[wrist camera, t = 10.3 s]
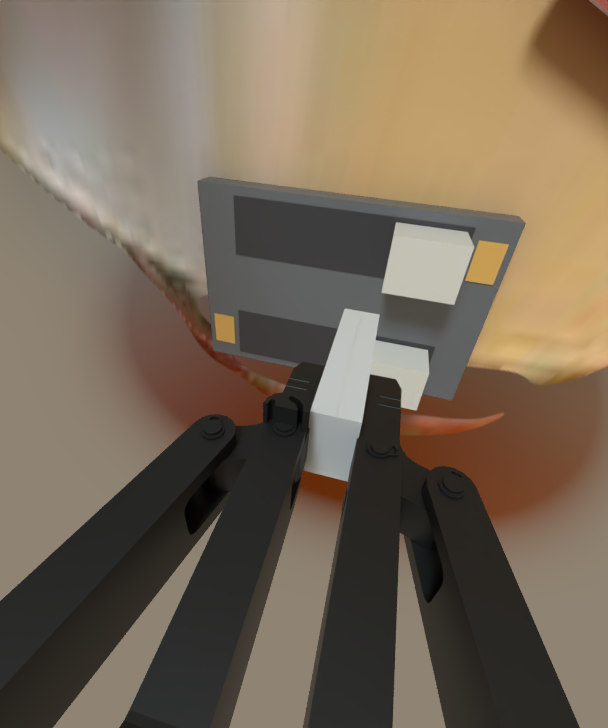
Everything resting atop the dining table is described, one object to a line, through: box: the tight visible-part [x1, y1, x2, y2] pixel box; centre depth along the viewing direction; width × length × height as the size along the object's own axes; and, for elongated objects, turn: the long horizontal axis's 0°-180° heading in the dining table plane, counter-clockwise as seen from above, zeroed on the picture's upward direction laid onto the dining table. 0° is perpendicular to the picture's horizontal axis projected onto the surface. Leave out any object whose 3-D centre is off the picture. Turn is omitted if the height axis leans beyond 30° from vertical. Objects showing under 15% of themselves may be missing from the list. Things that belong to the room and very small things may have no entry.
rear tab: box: [370, 340, 429, 410], centre depth 31 cm, size 5×4×4 cm
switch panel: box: [198, 177, 526, 400], centre depth 32 cm, size 24×16×2 cm, turn 86°
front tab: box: [381, 222, 474, 305], centre depth 25 cm, size 5×4×4 cm
